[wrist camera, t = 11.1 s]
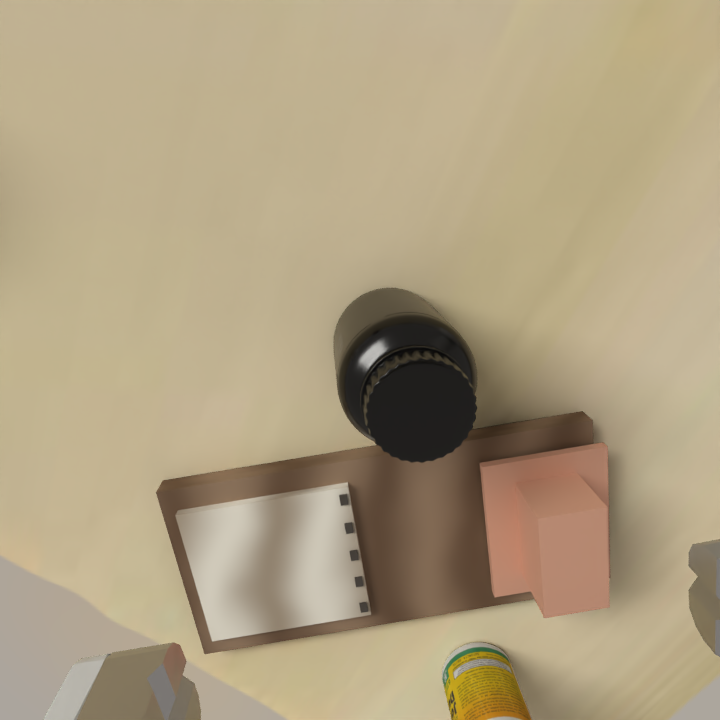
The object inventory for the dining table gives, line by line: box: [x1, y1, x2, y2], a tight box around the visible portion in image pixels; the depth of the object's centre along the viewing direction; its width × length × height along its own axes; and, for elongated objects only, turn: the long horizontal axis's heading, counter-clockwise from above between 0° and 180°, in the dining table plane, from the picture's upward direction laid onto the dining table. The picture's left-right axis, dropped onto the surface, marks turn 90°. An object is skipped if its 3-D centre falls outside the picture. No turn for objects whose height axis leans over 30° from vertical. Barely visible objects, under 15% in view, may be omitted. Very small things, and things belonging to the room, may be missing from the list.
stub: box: [480, 442, 610, 618], centre depth 35 cm, size 8×10×5 cm
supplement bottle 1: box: [334, 288, 477, 463], centre depth 29 cm, size 7×7×12 cm
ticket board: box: [156, 412, 593, 654], centre depth 37 cm, size 28×13×2 cm, turn 99°
